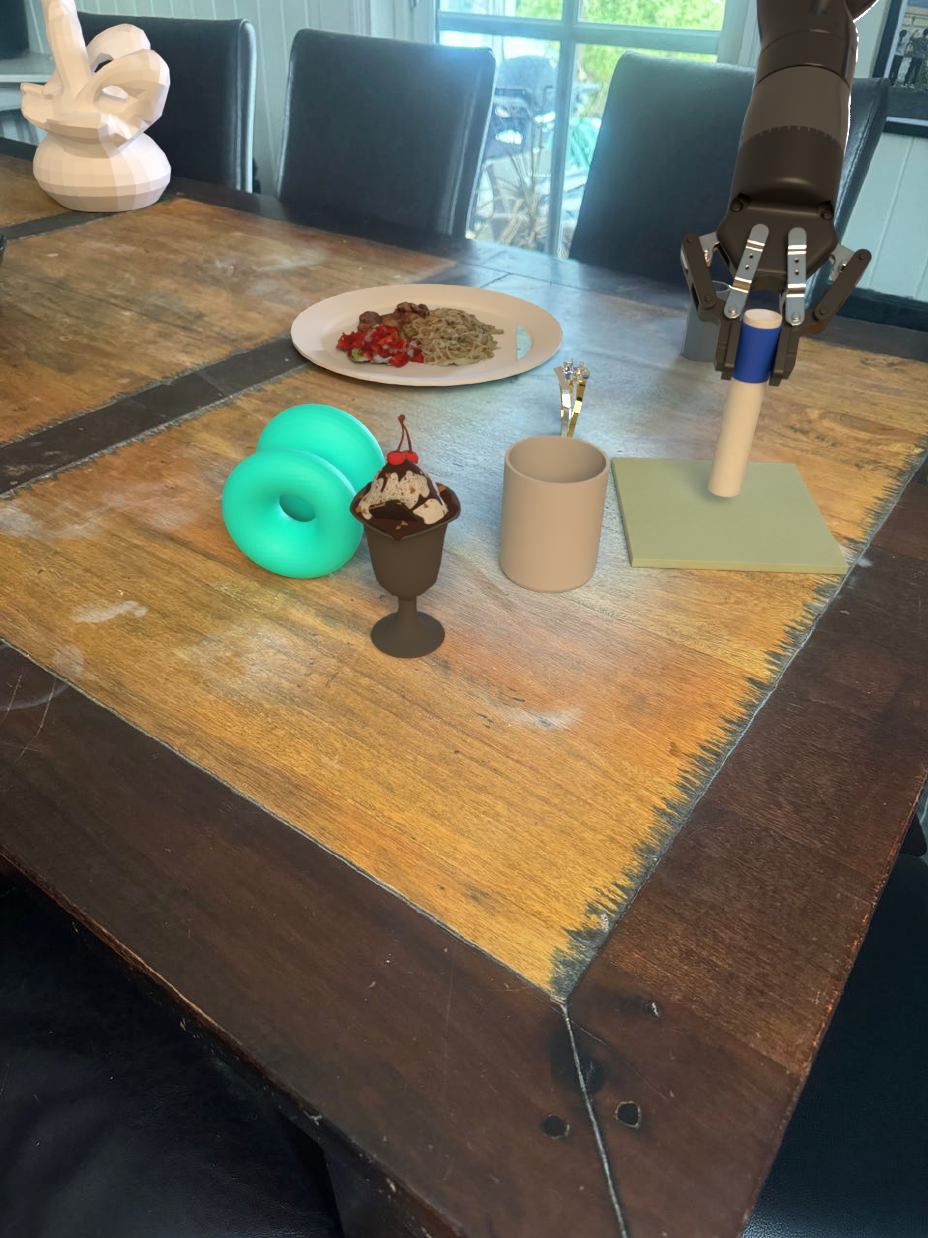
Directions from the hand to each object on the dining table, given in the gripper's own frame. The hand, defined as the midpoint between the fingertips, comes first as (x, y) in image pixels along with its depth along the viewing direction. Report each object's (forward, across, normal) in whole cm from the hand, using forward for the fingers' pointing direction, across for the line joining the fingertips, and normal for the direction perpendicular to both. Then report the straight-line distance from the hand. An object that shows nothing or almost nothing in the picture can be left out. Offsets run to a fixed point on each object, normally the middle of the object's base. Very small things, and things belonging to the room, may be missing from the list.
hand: (751, 378), depth 65 cm
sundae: (+23, -20, -5) cm, 31 cm away
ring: (+2, -14, +16) cm, 22 cm away
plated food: (-12, -33, +30) cm, 47 cm away
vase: (-44, -100, +62) cm, 126 cm away
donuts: (+18, -30, +1) cm, 34 cm away
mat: (+7, 0, +10) cm, 13 cm away
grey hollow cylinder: (-16, -4, +34) cm, 37 cm away
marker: (+6, 0, +9) cm, 10 cm away
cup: (+15, -12, +4) cm, 19 cm away
